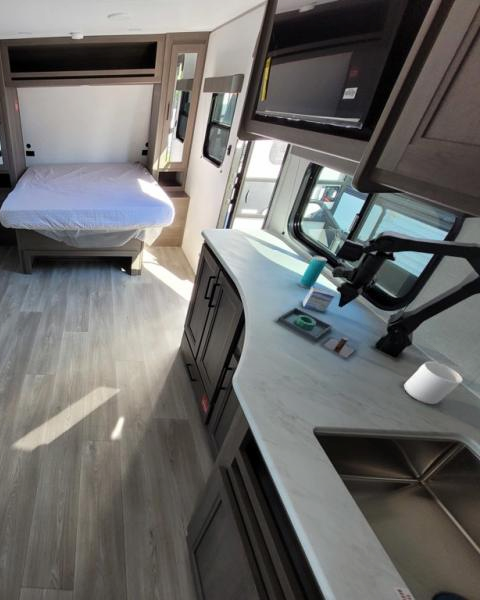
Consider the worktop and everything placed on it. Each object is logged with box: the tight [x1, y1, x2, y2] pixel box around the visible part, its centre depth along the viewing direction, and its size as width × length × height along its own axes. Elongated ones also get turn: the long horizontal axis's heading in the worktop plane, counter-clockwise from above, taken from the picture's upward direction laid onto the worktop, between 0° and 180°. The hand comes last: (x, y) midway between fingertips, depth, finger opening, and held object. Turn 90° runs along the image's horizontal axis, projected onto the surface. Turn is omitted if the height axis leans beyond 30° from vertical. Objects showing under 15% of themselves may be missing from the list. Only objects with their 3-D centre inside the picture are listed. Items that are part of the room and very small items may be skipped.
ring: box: [293, 315, 317, 332], centre depth 121 cm, size 6×6×3 cm
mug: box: [403, 361, 464, 405], centre depth 95 cm, size 12×8×10 cm
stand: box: [323, 336, 356, 359], centre depth 111 cm, size 8×8×5 cm
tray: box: [276, 307, 333, 343], centre depth 122 cm, size 14×13×2 cm
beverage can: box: [299, 255, 328, 289], centre depth 145 cm, size 6×6×15 cm
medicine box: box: [302, 286, 335, 313], centre depth 131 cm, size 8×4×9 cm, turn 62°
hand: (345, 303), depth 116 cm, fingers open, 9 cm apart
